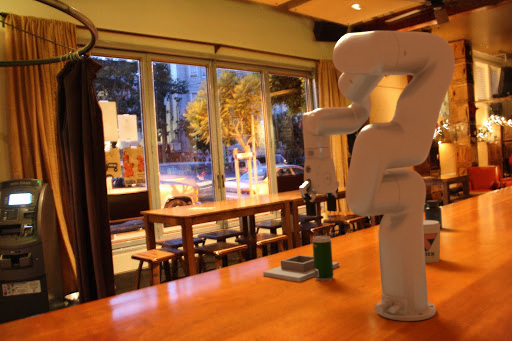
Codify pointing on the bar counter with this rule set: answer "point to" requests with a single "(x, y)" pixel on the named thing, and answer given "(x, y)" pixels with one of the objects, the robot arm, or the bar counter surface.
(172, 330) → the bar counter surface
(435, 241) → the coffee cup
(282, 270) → the holder board
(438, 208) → the supplement bottle
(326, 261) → the beer can
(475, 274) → the bar counter surface
